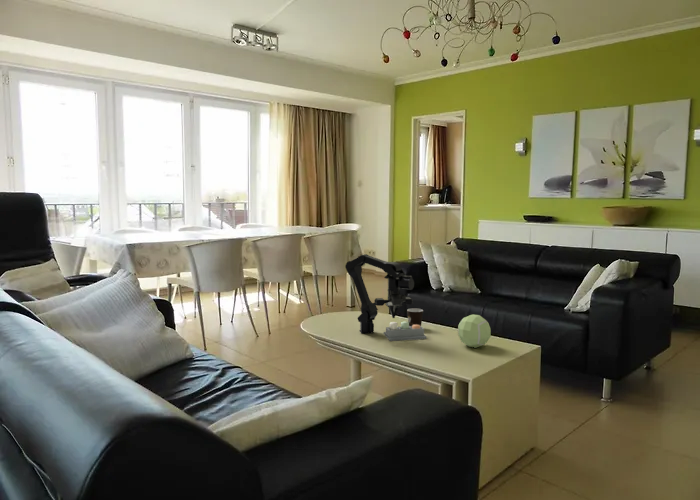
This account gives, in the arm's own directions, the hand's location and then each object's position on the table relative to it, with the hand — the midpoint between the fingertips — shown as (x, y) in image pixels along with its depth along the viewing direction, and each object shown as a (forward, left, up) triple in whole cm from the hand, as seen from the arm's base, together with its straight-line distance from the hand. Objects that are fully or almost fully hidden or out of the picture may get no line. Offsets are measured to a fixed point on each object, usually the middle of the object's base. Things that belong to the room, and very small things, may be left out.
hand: (393, 318), depth 265 cm
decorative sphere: (+34, -23, -10) cm, 42 cm away
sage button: (+6, 0, -6) cm, 9 cm away
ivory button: (0, 0, -6) cm, 6 cm away
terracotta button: (+12, 0, -8) cm, 15 cm away
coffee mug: (+17, +17, -10) cm, 26 cm away
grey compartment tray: (+6, 0, -10) cm, 12 cm away
